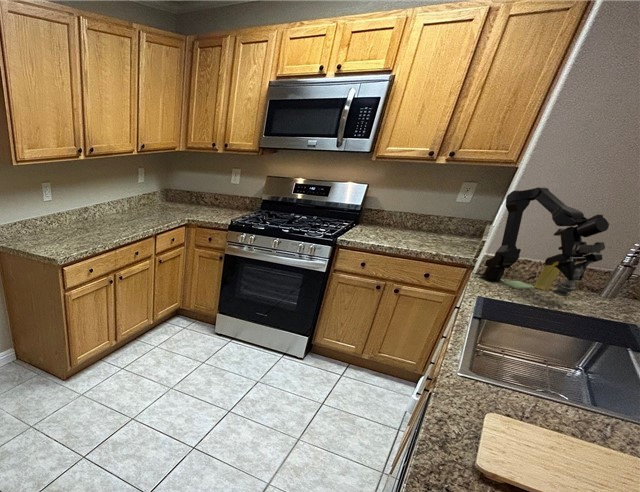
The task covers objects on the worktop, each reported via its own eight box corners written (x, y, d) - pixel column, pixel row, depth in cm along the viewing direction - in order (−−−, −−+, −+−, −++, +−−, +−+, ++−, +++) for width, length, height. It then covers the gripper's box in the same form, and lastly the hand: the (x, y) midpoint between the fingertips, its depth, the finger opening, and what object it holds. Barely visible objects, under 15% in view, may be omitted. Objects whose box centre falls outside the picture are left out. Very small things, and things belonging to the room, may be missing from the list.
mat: (502, 283, 195) (502, 281, 194) (517, 282, 196) (518, 280, 196) (518, 289, 188) (519, 287, 188) (534, 288, 190) (535, 286, 189)
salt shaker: (563, 290, 172) (585, 263, 164) (573, 297, 167) (596, 270, 159) (548, 289, 172) (569, 262, 164) (557, 296, 168) (580, 268, 160)
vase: (531, 284, 194) (550, 254, 186) (548, 287, 191) (567, 256, 183) (533, 288, 190) (551, 257, 182) (550, 291, 187) (569, 260, 179)
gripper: (574, 233, 156) (578, 274, 155) (617, 233, 158) (621, 273, 157) (542, 245, 167) (545, 283, 167) (583, 245, 169) (587, 282, 168)
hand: (575, 280), depth 164 cm, fingers closed on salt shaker, 3 cm apart
